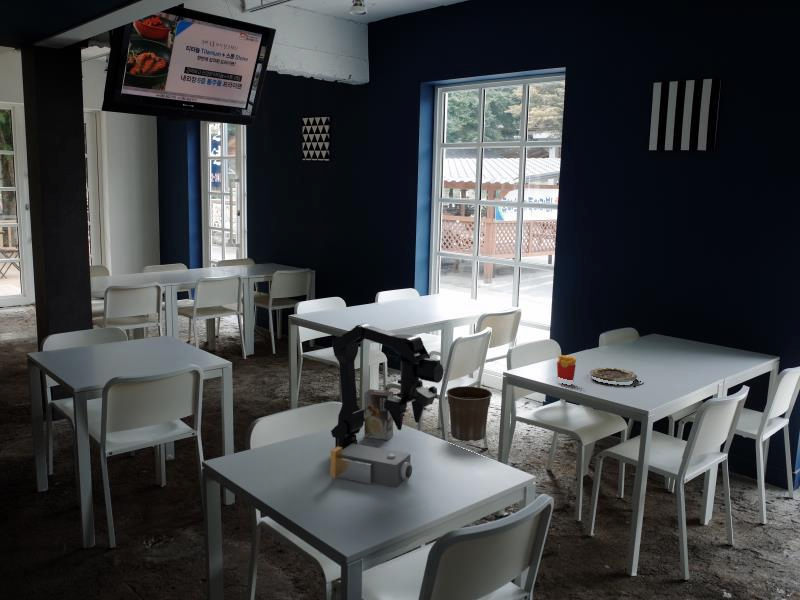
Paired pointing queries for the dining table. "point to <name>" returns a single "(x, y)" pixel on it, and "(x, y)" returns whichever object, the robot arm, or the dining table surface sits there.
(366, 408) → the coffee box
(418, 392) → the robot arm
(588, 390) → the dining table surface
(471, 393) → the plant pot
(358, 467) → the orange and silver box
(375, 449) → the camera housing
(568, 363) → the french fries
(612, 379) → the pie
